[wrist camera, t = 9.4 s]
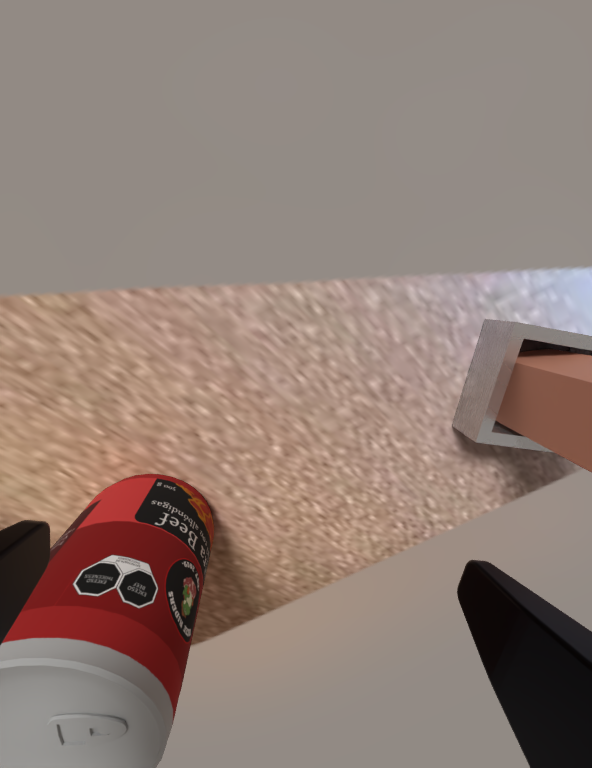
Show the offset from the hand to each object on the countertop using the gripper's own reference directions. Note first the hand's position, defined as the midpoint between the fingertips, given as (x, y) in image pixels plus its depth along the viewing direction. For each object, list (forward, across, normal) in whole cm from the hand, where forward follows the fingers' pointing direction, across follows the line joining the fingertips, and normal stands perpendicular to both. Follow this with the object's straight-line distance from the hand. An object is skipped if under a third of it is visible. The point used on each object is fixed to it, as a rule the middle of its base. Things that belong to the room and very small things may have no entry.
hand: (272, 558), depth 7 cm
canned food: (+13, +6, +10) cm, 18 cm away
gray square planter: (+13, -16, -3) cm, 21 cm away
